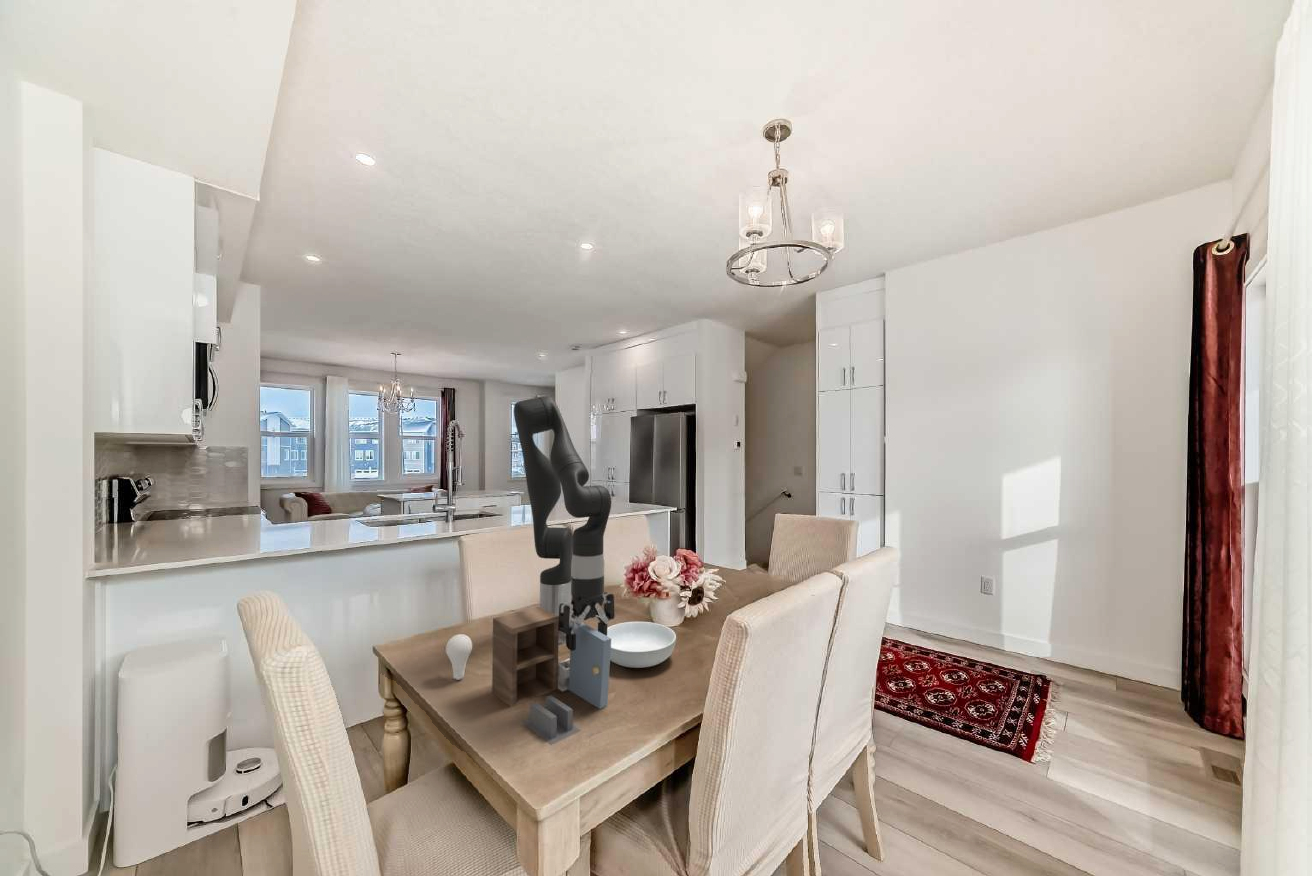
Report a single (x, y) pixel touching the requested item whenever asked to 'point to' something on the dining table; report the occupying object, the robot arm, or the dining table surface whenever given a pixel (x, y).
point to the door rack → (551, 720)
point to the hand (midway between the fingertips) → (587, 644)
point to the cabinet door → (589, 666)
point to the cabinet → (526, 656)
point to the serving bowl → (640, 643)
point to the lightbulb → (458, 654)
